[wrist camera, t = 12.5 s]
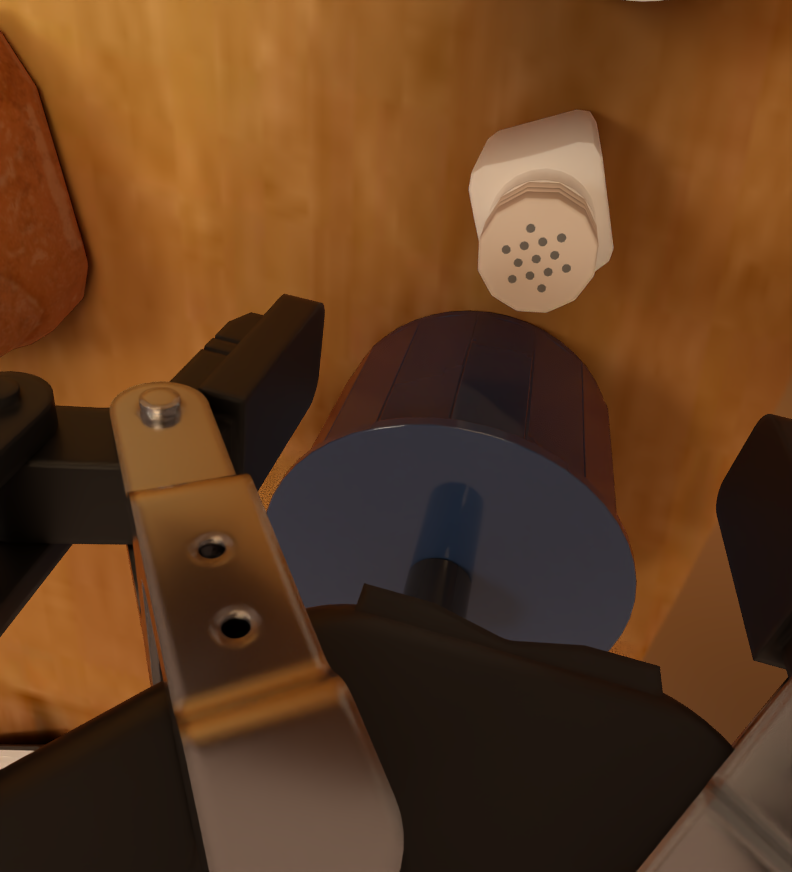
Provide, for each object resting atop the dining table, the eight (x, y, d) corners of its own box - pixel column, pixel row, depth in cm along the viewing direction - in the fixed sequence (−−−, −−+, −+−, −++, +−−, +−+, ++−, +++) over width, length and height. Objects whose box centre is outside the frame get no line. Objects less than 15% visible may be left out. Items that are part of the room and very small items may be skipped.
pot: (603, 294, 28) (614, 417, 20) (612, 529, 34) (624, 688, 27) (317, 325, 31) (235, 439, 24) (376, 531, 38) (327, 672, 30)
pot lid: (630, 392, 20) (647, 512, 16) (636, 684, 27) (649, 824, 23) (225, 419, 24) (145, 521, 20) (323, 668, 31) (282, 785, 27)
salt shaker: (484, 131, 25) (445, 201, 18) (594, 101, 24) (604, 163, 16) (504, 235, 27) (479, 338, 20) (607, 212, 26) (622, 314, 18)
